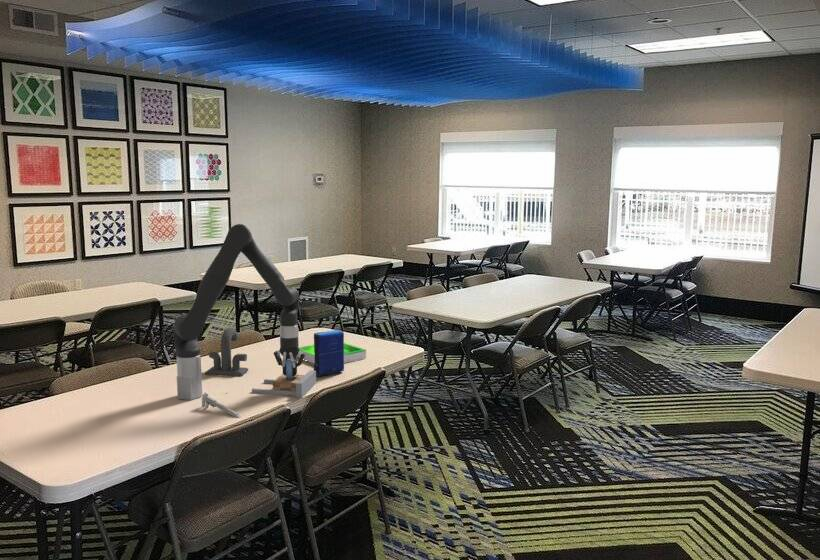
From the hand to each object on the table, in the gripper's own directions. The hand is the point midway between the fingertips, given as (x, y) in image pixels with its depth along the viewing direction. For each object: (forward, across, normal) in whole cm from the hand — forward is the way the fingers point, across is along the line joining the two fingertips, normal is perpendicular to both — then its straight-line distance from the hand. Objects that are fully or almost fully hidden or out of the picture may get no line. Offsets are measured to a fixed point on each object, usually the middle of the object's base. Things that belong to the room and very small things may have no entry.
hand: (290, 375), depth 270 cm
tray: (+7, +2, +50) cm, 50 cm away
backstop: (+6, -3, 0) cm, 7 cm away
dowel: (+3, 0, 0) cm, 3 cm away
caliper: (+7, -16, -30) cm, 35 cm away
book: (+7, +9, +24) cm, 27 cm away
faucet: (+7, -37, +20) cm, 42 cm away
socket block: (+6, 0, 0) cm, 6 cm away
